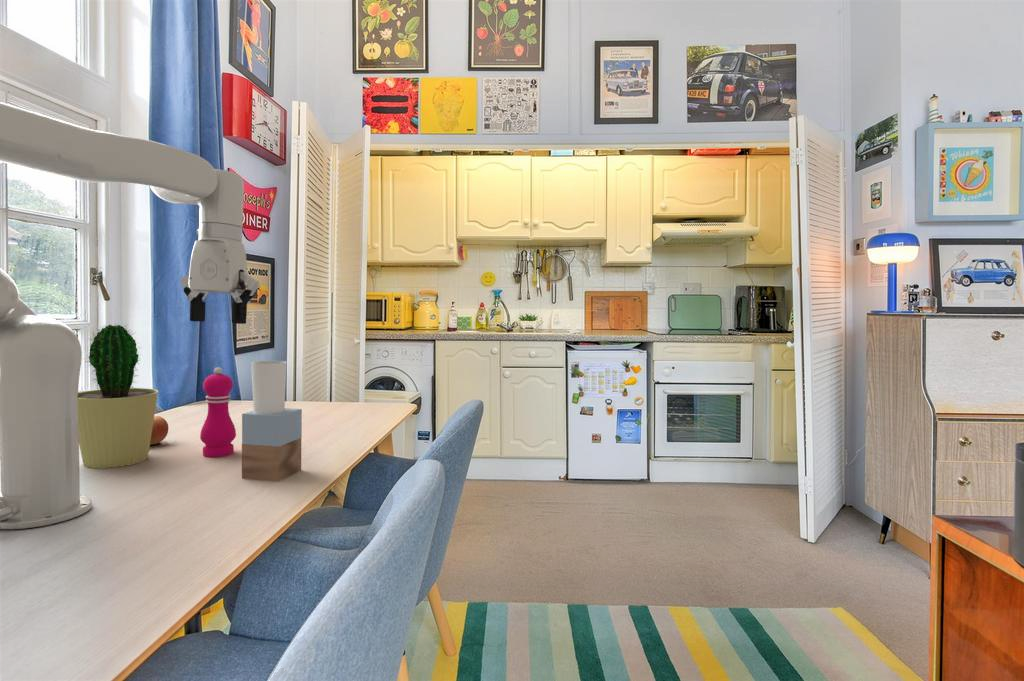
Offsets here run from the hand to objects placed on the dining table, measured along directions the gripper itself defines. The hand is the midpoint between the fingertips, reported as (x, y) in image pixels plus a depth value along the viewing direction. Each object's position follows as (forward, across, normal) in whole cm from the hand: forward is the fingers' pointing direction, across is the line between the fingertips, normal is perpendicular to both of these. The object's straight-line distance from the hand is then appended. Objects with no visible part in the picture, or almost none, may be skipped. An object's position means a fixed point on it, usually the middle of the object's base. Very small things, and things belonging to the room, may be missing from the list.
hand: (218, 322), depth 108 cm
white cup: (+18, +9, +5) cm, 20 cm away
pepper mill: (+31, -12, +15) cm, 36 cm away
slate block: (+24, +9, +5) cm, 26 cm away
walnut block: (+31, +10, +5) cm, 32 cm away
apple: (+31, -33, +16) cm, 48 cm away
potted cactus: (+31, -27, +3) cm, 42 cm away
